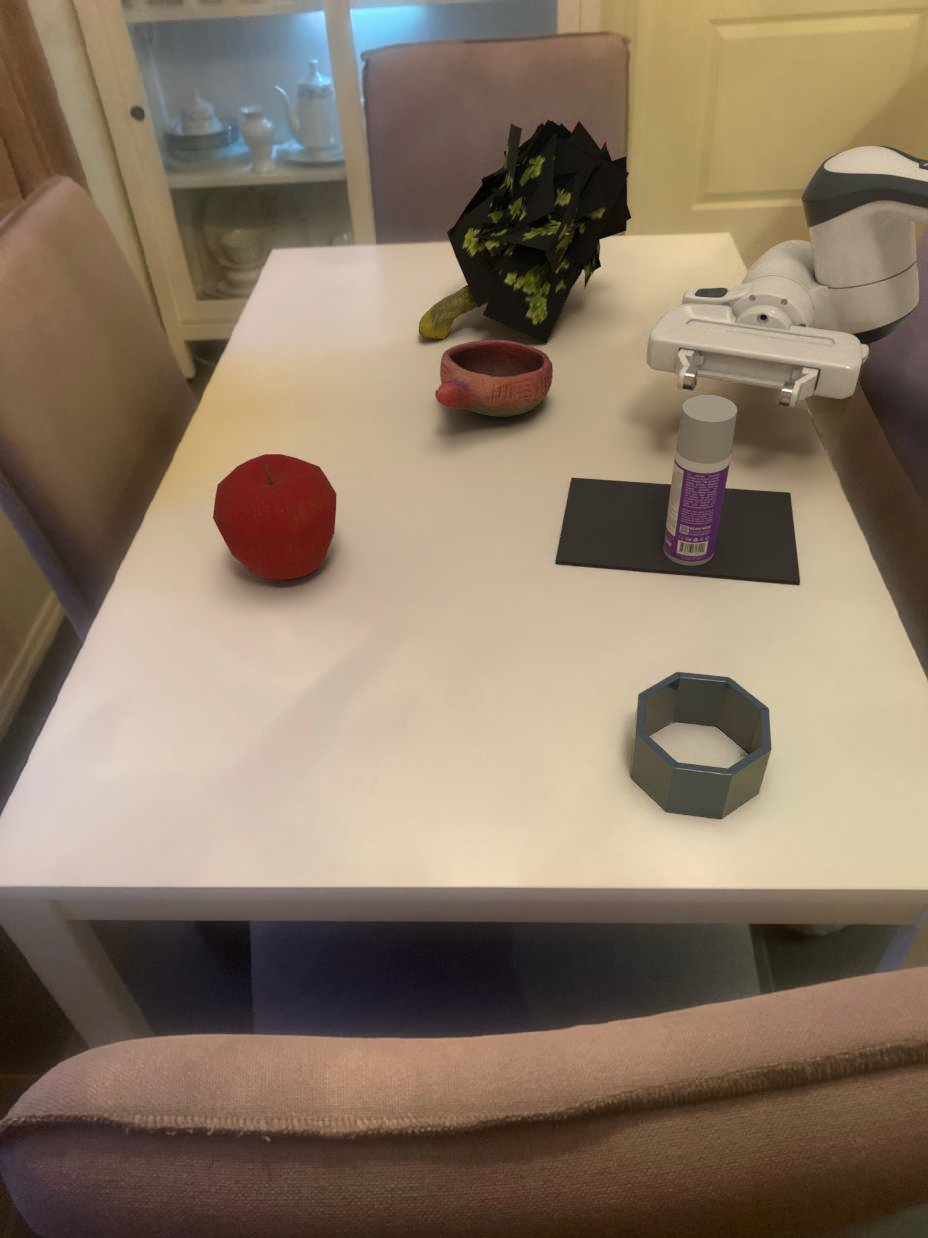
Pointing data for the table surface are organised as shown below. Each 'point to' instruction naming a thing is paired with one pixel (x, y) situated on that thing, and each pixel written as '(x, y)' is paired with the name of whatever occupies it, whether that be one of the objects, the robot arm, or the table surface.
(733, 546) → the mat
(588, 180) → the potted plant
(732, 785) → the octagonal ring
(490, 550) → the table surface
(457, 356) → the bowl
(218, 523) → the apple
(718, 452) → the container
